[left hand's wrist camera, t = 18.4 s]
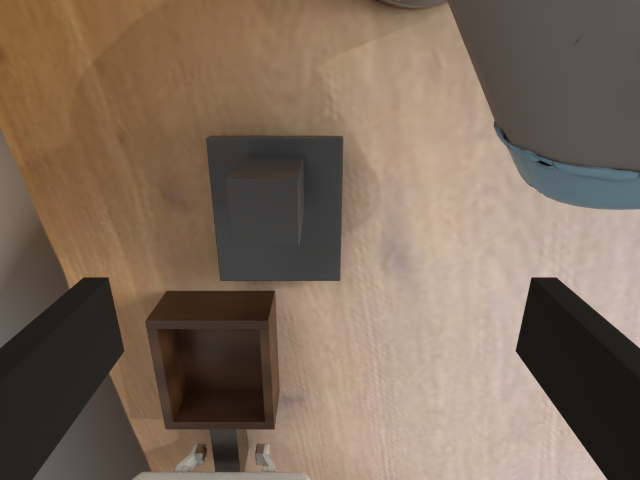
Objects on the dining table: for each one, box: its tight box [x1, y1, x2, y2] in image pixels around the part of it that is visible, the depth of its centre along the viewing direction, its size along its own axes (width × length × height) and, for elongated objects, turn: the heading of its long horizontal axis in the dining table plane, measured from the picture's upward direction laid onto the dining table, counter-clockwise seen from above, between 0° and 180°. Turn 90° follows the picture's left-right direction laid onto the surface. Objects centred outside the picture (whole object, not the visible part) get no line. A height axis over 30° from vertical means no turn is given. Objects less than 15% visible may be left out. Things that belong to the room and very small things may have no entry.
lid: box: [206, 136, 343, 281], centre depth 36 cm, size 14×12×12 cm
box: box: [146, 291, 279, 472], centre depth 47 cm, size 24×12×6 cm, turn 0°
